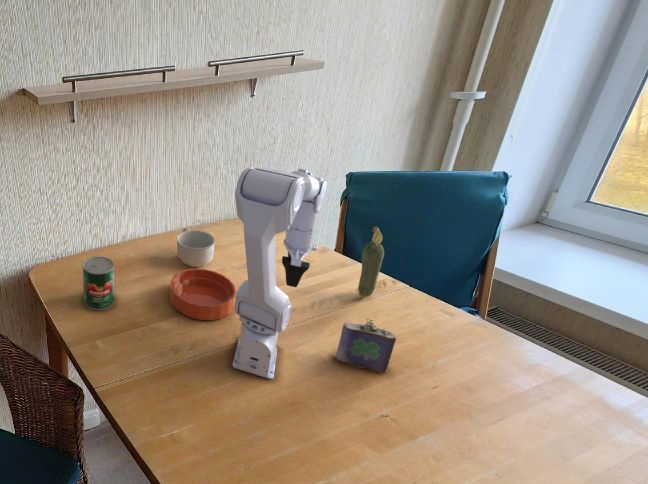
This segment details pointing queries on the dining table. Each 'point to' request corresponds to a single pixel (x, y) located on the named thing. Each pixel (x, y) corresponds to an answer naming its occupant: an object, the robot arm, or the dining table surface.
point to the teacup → (195, 247)
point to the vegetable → (371, 264)
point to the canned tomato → (98, 283)
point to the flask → (365, 346)
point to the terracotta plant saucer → (202, 294)
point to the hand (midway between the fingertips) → (292, 276)
